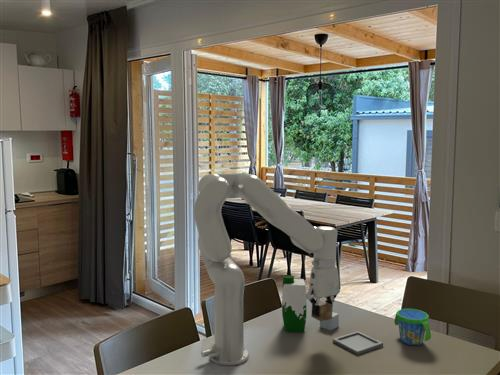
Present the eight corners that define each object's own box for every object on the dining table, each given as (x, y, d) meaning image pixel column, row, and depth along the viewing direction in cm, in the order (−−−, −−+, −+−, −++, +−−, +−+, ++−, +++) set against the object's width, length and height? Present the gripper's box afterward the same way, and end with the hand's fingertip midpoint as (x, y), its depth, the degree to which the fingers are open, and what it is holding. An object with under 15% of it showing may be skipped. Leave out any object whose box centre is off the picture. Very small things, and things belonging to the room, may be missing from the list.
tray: (357, 355, 159) (357, 351, 159) (332, 341, 169) (332, 338, 169) (383, 346, 166) (383, 342, 165) (357, 334, 176) (357, 330, 176)
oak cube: (320, 321, 164) (321, 307, 163) (311, 316, 168) (312, 302, 168) (331, 318, 167) (332, 304, 166) (322, 314, 171) (323, 300, 170)
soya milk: (281, 323, 186) (281, 273, 184) (305, 323, 186) (305, 273, 184) (282, 333, 177) (282, 280, 175) (307, 333, 177) (307, 280, 175)
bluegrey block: (331, 330, 179) (331, 317, 179) (319, 327, 183) (320, 314, 182) (338, 326, 183) (338, 313, 182) (327, 323, 186) (327, 310, 186)
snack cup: (439, 349, 163) (440, 320, 162) (412, 353, 160) (413, 324, 159) (410, 331, 178) (411, 304, 177) (385, 335, 175) (386, 307, 174)
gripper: (312, 268, 158) (309, 322, 159) (350, 262, 167) (347, 313, 169) (297, 262, 164) (295, 314, 166) (335, 257, 173) (333, 307, 175)
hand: (322, 313), depth 167 cm, fingers closed on oak cube, 5 cm apart
